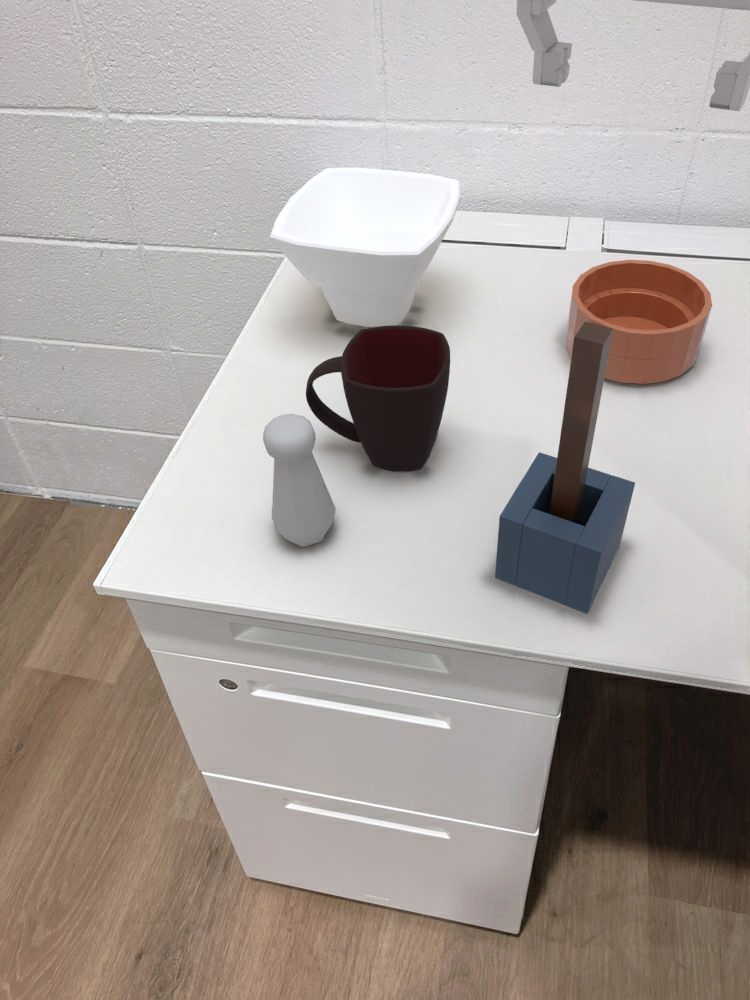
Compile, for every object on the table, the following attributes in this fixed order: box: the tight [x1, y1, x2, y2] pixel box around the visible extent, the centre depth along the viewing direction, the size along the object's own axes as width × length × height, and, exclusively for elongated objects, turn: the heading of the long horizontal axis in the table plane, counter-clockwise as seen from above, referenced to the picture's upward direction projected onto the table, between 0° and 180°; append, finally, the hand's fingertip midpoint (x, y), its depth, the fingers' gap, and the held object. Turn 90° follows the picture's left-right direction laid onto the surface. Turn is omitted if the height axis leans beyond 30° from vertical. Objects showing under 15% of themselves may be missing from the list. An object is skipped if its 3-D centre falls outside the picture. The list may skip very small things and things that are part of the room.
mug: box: [305, 324, 451, 473], centre depth 77 cm, size 10×14×12 cm
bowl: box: [269, 166, 461, 328], centre depth 94 cm, size 19×19×14 cm
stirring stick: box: [549, 321, 613, 524], centre depth 62 cm, size 2×2×24 cm
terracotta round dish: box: [565, 259, 713, 385], centre depth 89 cm, size 14×14×7 cm
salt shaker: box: [262, 413, 336, 548], centre depth 70 cm, size 6×6×13 cm
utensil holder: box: [494, 451, 636, 614], centre depth 68 cm, size 8×8×8 cm
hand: (634, 93), depth 42 cm, fingers open, 8 cm apart
